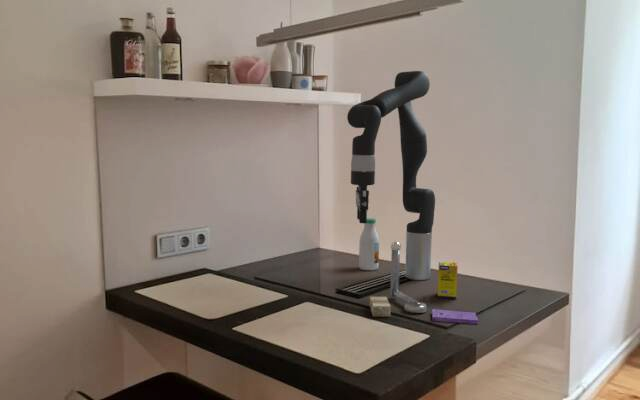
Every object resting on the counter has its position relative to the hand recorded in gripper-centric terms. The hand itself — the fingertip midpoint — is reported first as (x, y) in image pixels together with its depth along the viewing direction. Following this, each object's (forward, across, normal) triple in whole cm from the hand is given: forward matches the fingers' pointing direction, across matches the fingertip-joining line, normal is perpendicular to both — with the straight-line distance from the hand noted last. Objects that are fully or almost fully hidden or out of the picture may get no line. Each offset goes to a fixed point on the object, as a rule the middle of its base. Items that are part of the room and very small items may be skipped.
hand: (361, 221), depth 176 cm
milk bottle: (+25, -41, +7) cm, 49 cm away
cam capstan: (+25, +8, +13) cm, 29 cm away
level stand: (+25, +14, +5) cm, 29 cm away
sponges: (+26, +20, +26) cm, 41 cm away
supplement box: (+25, -3, +29) cm, 38 cm away
